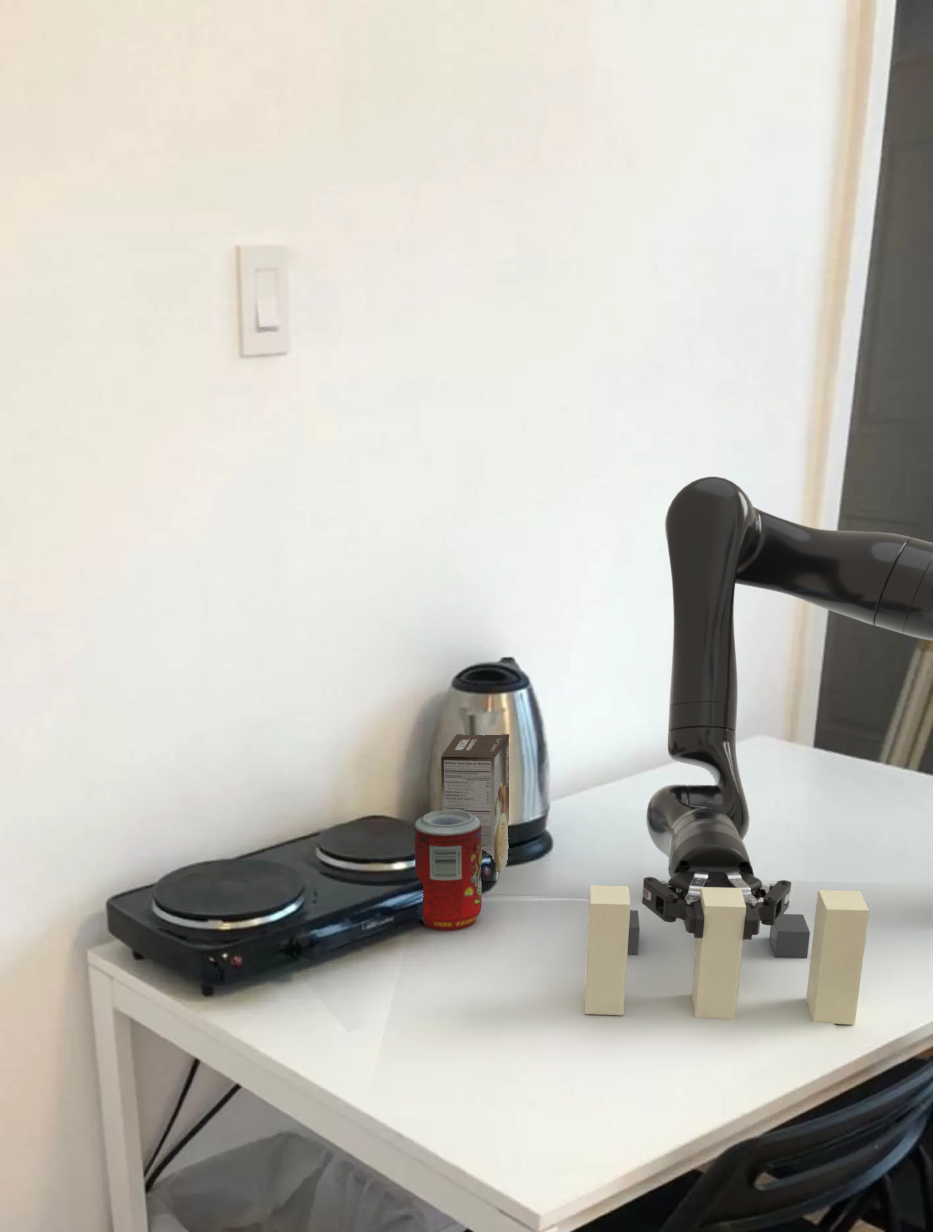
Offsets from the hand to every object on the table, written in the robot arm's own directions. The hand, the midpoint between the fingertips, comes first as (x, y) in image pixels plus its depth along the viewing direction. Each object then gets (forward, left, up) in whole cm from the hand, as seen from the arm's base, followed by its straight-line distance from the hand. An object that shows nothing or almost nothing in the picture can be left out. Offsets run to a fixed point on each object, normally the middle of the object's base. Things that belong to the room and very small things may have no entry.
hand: (724, 928), depth 133 cm
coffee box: (+24, -39, -9) cm, 46 cm away
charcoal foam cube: (-8, -17, -9) cm, 21 cm away
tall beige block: (0, -3, -9) cm, 9 cm away
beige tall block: (-10, -3, -9) cm, 14 cm away
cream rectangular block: (+10, -3, -9) cm, 14 cm away
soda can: (+26, -23, -9) cm, 36 cm away
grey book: (+8, -17, -9) cm, 21 cm away
